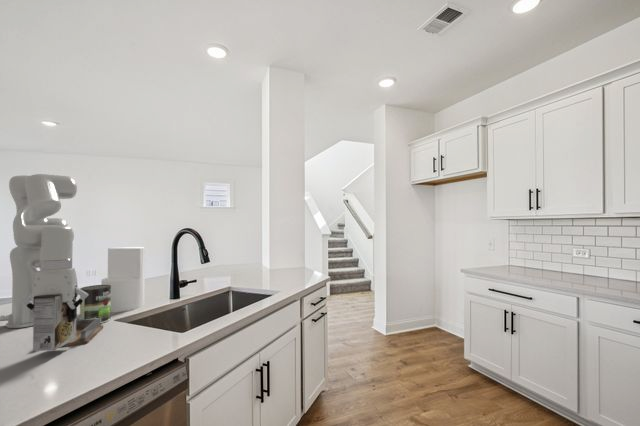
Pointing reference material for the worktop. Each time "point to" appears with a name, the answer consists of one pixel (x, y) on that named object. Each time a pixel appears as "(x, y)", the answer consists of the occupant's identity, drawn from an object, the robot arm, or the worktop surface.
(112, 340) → the worktop surface
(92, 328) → the dock
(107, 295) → the coffee can
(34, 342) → the coffee box
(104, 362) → the worktop surface
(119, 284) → the tall white block
